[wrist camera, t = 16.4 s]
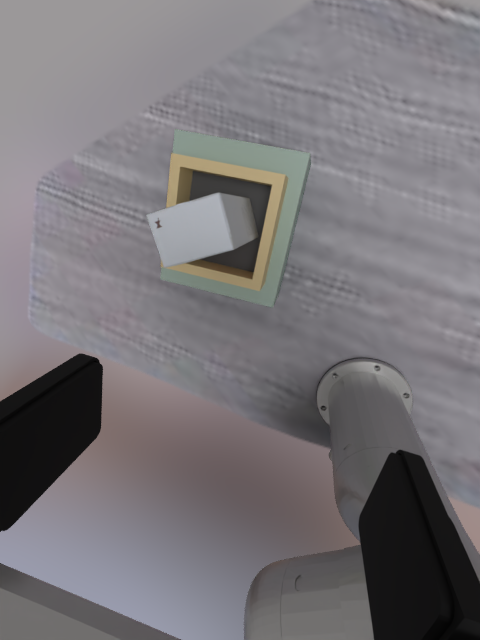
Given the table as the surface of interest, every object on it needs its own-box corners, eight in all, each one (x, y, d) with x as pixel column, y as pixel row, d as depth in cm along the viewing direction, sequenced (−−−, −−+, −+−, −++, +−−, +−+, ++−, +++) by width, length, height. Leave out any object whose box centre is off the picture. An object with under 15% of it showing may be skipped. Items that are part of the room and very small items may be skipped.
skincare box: (209, 251, 35) (161, 269, 24) (198, 212, 34) (142, 213, 23) (261, 237, 33) (234, 251, 22) (251, 196, 32) (218, 189, 21)
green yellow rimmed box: (279, 292, 42) (268, 317, 32) (182, 269, 44) (145, 285, 34) (311, 163, 36) (309, 146, 27) (198, 142, 38) (159, 119, 29)
